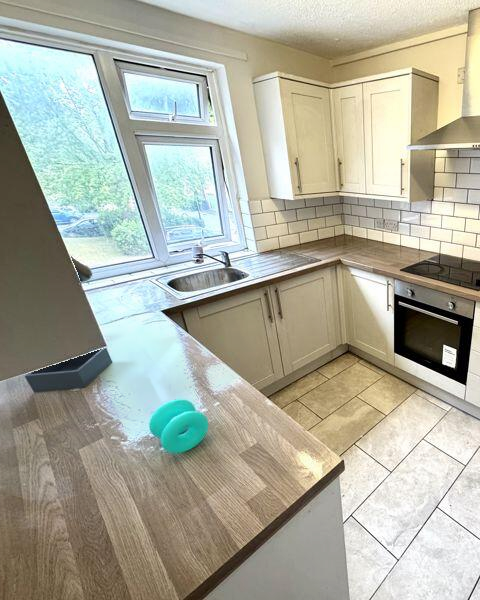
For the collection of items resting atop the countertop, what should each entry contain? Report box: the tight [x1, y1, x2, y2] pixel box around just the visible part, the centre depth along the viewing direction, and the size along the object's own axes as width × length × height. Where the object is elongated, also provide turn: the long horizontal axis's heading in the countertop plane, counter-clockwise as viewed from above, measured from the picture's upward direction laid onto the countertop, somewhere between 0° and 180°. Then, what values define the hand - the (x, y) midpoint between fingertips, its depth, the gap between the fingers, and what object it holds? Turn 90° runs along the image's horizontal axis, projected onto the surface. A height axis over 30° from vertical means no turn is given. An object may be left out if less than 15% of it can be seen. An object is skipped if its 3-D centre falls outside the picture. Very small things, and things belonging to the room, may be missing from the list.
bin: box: [24, 347, 113, 393], centre depth 104 cm, size 14×14×6 cm
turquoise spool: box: [148, 398, 209, 454], centre depth 80 cm, size 10×10×10 cm
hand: (36, 311), depth 91 cm, fingers closed on spray can, 5 cm apart
